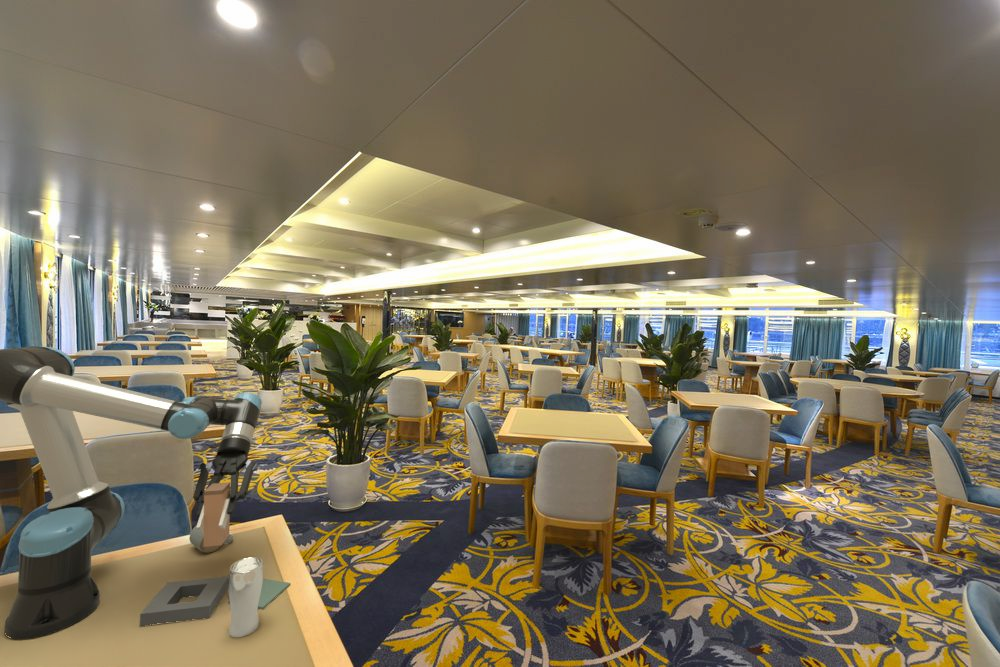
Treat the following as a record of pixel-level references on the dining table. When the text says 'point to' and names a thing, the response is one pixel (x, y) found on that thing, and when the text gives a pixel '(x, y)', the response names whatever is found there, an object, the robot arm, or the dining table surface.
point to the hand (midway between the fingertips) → (210, 528)
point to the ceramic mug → (198, 541)
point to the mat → (270, 591)
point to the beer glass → (244, 595)
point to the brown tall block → (215, 514)
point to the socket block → (171, 611)
